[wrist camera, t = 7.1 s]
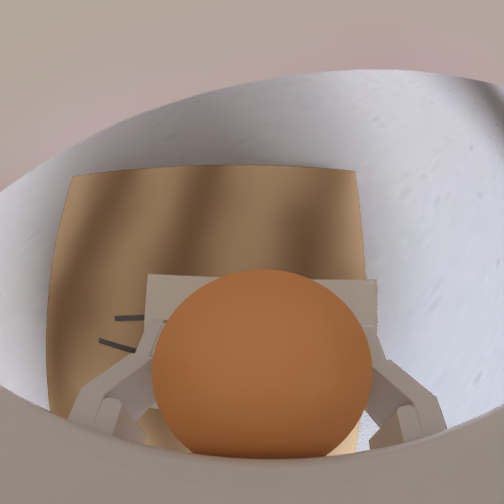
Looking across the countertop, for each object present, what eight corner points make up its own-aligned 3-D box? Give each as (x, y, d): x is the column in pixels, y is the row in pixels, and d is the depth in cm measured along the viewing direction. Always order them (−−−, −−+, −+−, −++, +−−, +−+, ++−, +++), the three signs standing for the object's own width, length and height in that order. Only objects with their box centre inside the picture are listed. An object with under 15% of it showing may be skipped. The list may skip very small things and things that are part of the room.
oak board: (346, 185, 17) (354, 170, 15) (338, 482, 12) (346, 496, 10) (86, 188, 18) (72, 176, 16) (72, 446, 13) (57, 454, 11)
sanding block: (357, 287, 14) (462, 239, 5) (354, 399, 12) (448, 464, 4) (165, 282, 14) (64, 229, 6) (162, 394, 12) (63, 454, 4)
